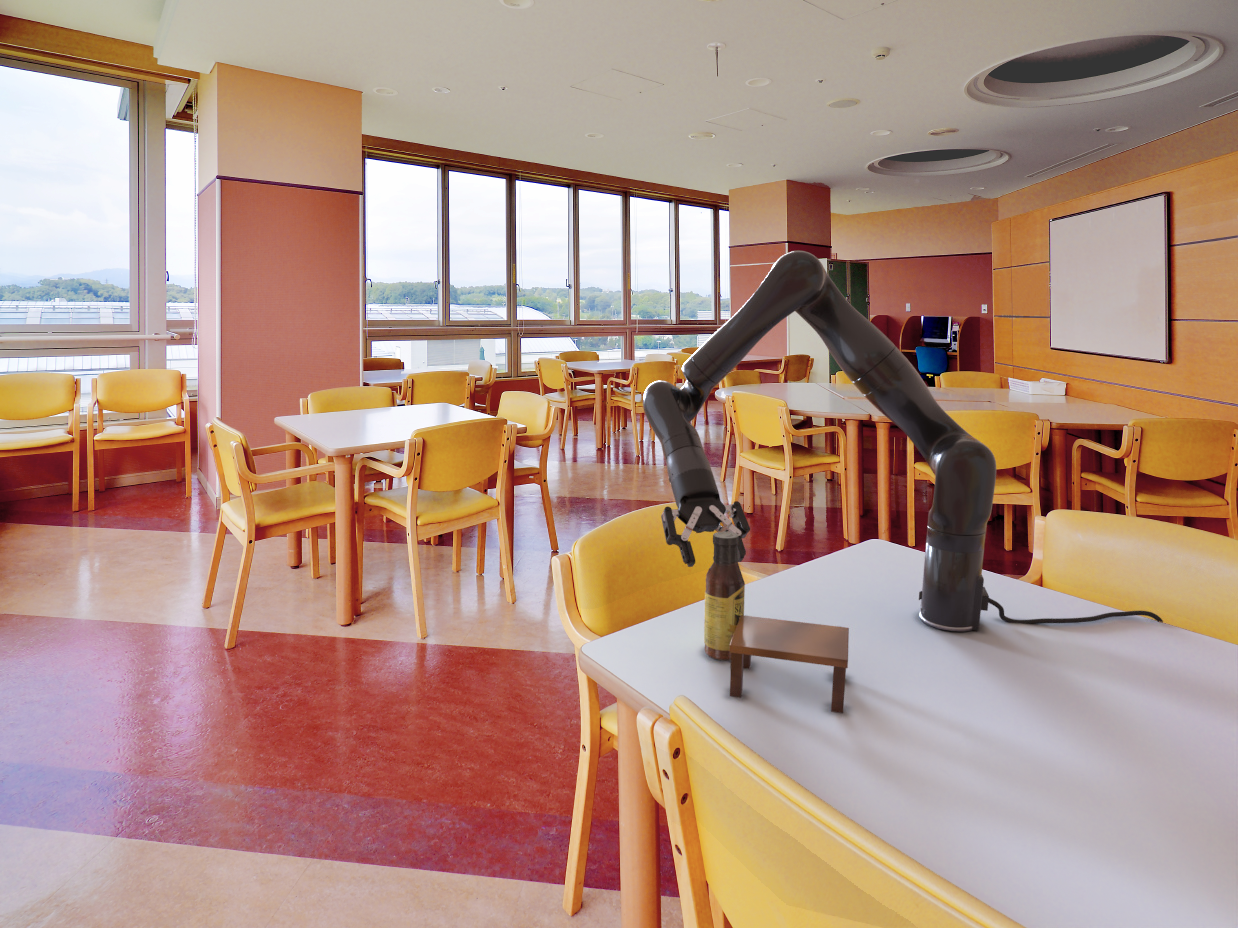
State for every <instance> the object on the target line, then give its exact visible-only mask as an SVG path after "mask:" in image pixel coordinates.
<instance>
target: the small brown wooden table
mask: <svg viewBox="0 0 1238 928" xmlns="http://www.w3.org/2000/svg"><path fill="white" fill-rule="evenodd" d="M849 636H850V628H849V627H845V626H839V625H828V624H821V623H820V624H819V623H812V622H811V623H810V622H803V621H795V620H787V619H777V618H769V617H761V616H752V615H745V614H744V615H741V617H740V619H739V622H738V625H737V627H736V630H735V632H734V635H733V638H732V640H731V643H730V648H729V652H730V653H731V660H730V670H729V671H730V672H729V673H730V674H729V697H734V698H741V697H742V696H743V689H744V688H743V687H744V685H743V684H744V669H745V670H750V669H751V665H752V656H753V657H761V658H768V659H775V660H782V661H783V660H784V661H791V662H798V663H804V664H805V663H806V664H814V665H821V666H828V667H833V670H832V671H833V673H832V689H831V690H832V692H831V704H830V705H831V706H830V712H832V713H839V714H844V708H845V707H844V706H845V691H846V690H845V689H846V677H847V676H846V675H847V669H848V667H849V640H850V639H849Z"/></svg>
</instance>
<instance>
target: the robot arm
mask: <svg viewBox="0 0 1238 928" xmlns="http://www.w3.org/2000/svg"><path fill="white" fill-rule="evenodd" d="M793 313H797V314H798V315H799V316H800V317H801V318H802V319H803V321H805V322H806V323H807V324H808V325H809V326H810V327H811V328H812V329H813V330H814V331H815V333H816V334H817V335H818V336H819V338H820V340H822V342H823V343H824V345H825V347H826V349H827V350H828V351H829V353H830V355H831V356H832V358H833V359H834V361H835V362H836V365H838V367H839V368H840V369H841V370H842V372H843V373H844V375H845V376H846V377H847V378H848V379H849V381H850V382H851V383H852V385H854V386H855V387H856V389H857V390H858V391H859V392H860V393H861V394H862V395H863V397H864V398H865V399H866V400H867V401H868V402H869V403H870V404H871V405H872V406H874V408H876V409H877V411H879V412H880V413H881V414H882V415H883V416H884V417H886V418H887V419H888V420H889V421H891V423H893V424H894V425H895V426H897V427H898V428H899V429H901V431H902V432H903V433H904V434H905V435H906V436H907V438H909V440H910V442H912V445H914V446H915V448H916V449H917V450H918V452H919V453H920V455H921V456H922V458H923V459H924V460H925V462H926V463H927V465H928V466H929V469H930V470H931V472H932V474H933V475H934V476H935V477H934V489H933V499H932V505H931V508H930V509H929V511H928V514H927V515H928V516H927V527H926V537H925V538H926V539H925V550H924V551H925V552H924V561H923V575H922V588H921V590H920V591H919V593H918V601H920V608H919V609H920V610H919V619H920V621H921V622H923V623H924V624H925V625H927V626H929V627H932V628H935V629H939V630H943V631H949V632H958V633H959V632H970V631H977V632H978V631H980V623H981V612H982V611H984V612H985V611H986V612H987V611H988V610H989V604H990V605H992V606H994V607H995V608H996V609H997V610H998V616H999V618H1000V619H1001V620H1002V621H1003V622H1006V623H1010V624H1025V625H1036V624H1037V625H1038V624H1075V623H1087V622H1088V623H1089V622H1096V621H1100V620H1104V619H1108V618H1116V617H1118V618H1119V617H1121V618H1122V617H1132V616H1133V617H1134V616H1146V617H1149V618H1152V619H1154V620H1155V621H1156V622H1159V623H1164V620H1163V618H1161V617H1160V616H1159V615H1158V614H1156V613H1154V612H1152V611H1148V610H1127V611H1113V612H1112V611H1111V612H1106V613H1101V614H1097V615H1094V616H1085V617H1065V618H1064V617H1063V618H1053V617H1051V618H1048V617H1047V618H1032V619H1014V618H1010V617H1008V616H1006V615H1005V609H1004V607H1003V606H1002V605H1001V604H1000V603H999V602H997V601H996V600H994V599H993V598H990V595H989V593H988V591H987V589H986V586H984V584H985V578H984V576H983V565H984V554H985V543H986V535H987V527H988V526H987V525H988V522H989V519H990V517H991V514H992V510H993V504H994V495H995V488H996V480H997V460H996V457H995V455H994V453H993V451H992V450H991V449H990V448H989V447H988V445H986V444H984V443H983V442H981V441H980V440H979V439H977V438H976V437H974V436H973V435H972V434H970V433H969V432H968V431H967V430H965V429H964V428H963V427H961V426H960V425H959V423H958V422H957V421H955V420H954V419H953V418H952V417H951V416H950V415H949V414H948V413H947V412H946V411H945V410H944V408H942V407H941V406H940V404H939V403H938V401H937V400H936V399H935V397H934V395H933V394H932V392H931V390H930V389H929V387H928V385H927V384H926V382H925V381H924V379H923V378H922V376H921V375H920V373H919V372H918V371H917V369H916V367H915V366H914V365H913V364H912V363H911V362H910V360H909V359H908V358H907V357H906V356H905V355H904V353H902V351H901V350H900V349H899V348H898V347H897V346H896V345H895V344H894V343H893V341H891V339H890V338H889V337H888V336H887V335H885V334H884V332H883V331H881V330H880V329H879V328H878V327H877V326H876V325H875V324H874V323H872V322H871V321H870V320H869V319H867V317H865V316H864V315H863V314H862V313H861V312H859V311H858V310H857V309H856V308H855V307H854V306H853V305H852V304H851V303H850V302H849V301H848V300H847V298H846V297H845V296H844V295H843V293H842V291H840V289H839V287H838V286H837V285H836V284H835V282H834V281H833V280H832V278H831V277H830V275H829V274H828V272H827V271H826V269H825V267H824V265H823V263H822V262H821V261H820V258H818V257H817V256H815V255H814V254H812V253H811V252H808V251H805V250H792V251H789V252H786V253H785V254H783V255H781V256H780V257H779V258H777V259H776V261H775V262H774V264H773V265H772V267H771V269H770V271H769V272H768V274H767V275H766V276H765V278H764V279H763V280H762V282H761V283H760V284H759V286H758V288H757V289H756V290H755V292H754V293H753V294H752V295H751V297H749V299H748V300H747V301H746V302H745V303H744V304H743V305H742V307H741V308H740V309H738V311H737V312H736V313H735V314H734V315H733V316H732V317H731V318H730V319H729V320H727V321H726V322H725V323H724V324H723V325H722V326H721V327H720V328H718V329H717V330H716V331H715V332H714V333H713V334H712V335H710V337H709V338H708V339H707V340H706V341H705V342H704V343H702V345H700V347H699V348H698V349H697V350H696V351H695V352H694V353H693V354H692V355H690V357H689V358H688V359H687V360H686V361H685V362H684V363H683V365H682V367H681V371H682V374H683V376H684V378H685V380H686V381H685V382H684V385H683V386H682V387H681V388H679V387H677V386H676V385H674V384H673V383H671V382H669V381H666V380H656V381H653V382H652V383H650V384H649V385H648V386H647V387H646V389H645V390H644V393H643V396H642V408H643V411H644V415H645V417H646V419H647V421H648V423H649V425H650V427H651V429H652V431H653V433H654V434H655V436H656V438H657V439H658V441H659V442H660V445H661V450H662V454H663V457H664V461H665V465H666V470H667V476H668V482H669V484H670V487H671V491H672V494H673V498H674V501H675V505H676V507H677V508H676V509H674V508H671V506H665V507H664V509H663V511H662V513H661V515H660V518H661V523H662V528H663V533H664V538H665V542H666V544H667V545H668V546H672V545H674V546H677V547H678V548H679V551H680V556H681V559H682V562H683V563H684V565H686V566H687V567H688V568H693V567H694V565H695V564H696V556H695V554H694V550H693V547H692V543H691V541H689V538H690V536H691V534H692V532H695V533H696V534H701V533H704V532H706V533H713V532H716V533H717V532H733V533H736V534H738V535H739V543H738V546H737V549H738V551H737V558H738V563H741V562H742V561H743V560H744V559H745V556H746V554H747V550H746V548H745V544H744V541H743V539H745V538H746V537H747V535H748V533H749V532H750V531H751V527H750V524H749V522H748V520H747V517H746V514H745V512H744V509H743V507H742V504H741V502H740V501H738V500H735V501H734V502H733V503H732V504H731V503H730V504H724V503H723V502H722V500H721V496H720V491H719V489H718V485H717V482H716V480H715V477H714V474H713V470H712V467H711V464H710V461H709V458H708V457H707V455H706V452H705V449H704V447H703V444H702V441H701V437H700V435H699V432H698V430H697V429H696V427H695V426H694V425H693V424H691V422H692V421H693V420H694V419H695V418H696V417H697V416H698V414H699V412H700V410H701V409H702V407H703V405H704V404H705V402H706V401H707V400H708V398H709V396H710V394H711V393H712V391H713V389H714V388H715V387H716V386H717V385H719V384H720V382H722V381H723V380H724V379H725V378H726V377H727V376H728V375H729V374H730V373H732V371H733V370H734V369H735V368H736V367H737V366H738V365H739V364H740V363H741V362H742V361H743V360H744V359H745V357H746V356H747V355H748V354H749V353H750V352H751V351H752V349H753V348H755V346H756V345H757V344H758V343H759V342H760V341H761V340H762V339H763V338H764V336H766V335H767V334H768V333H769V332H770V331H771V330H772V329H774V327H776V326H777V325H778V324H779V323H781V322H782V321H783V320H785V319H786V318H787V317H788V316H790V315H791V314H793ZM725 514H727V515H728V517H727V516H726V515H725ZM677 518H678V519H679V520H680V521H681V522H682V523H683V524H684V525H685V526H684V529H683V531H682V533H681V534H679V533H677V528H676V524H675V521H676V520H677ZM731 519H732V520H731ZM721 524H722V525H721Z"/></svg>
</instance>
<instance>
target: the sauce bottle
mask: <svg viewBox="0 0 1238 928" xmlns="http://www.w3.org/2000/svg"><path fill="white" fill-rule="evenodd" d="M738 543H739V535H738V534H736V533H733V532H717V531H716V532H715V533H713V534H712V545H713V557H712V561H713V562H712V563H711V565H710V567H709V568H708V570H707V572H706V575H705V591H704V627H703V629H704V630H703V633H704V634H703V642H704V652H705V654H706V655H707V656H708V657H710V658H711V659H715V660H720V661H731V653H730V652H729V648H730V643H731V640H732V638H733V635H734V632H735V630H736V627H737V625H738V622H739V619H740V617H741V615H744V616H745V591H746V590H745V589H746V583H745V580H744V577H743V574H742V570H741V568H740V564H739V562H738V558H737V551H738V549H737V546H738Z"/></svg>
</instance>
